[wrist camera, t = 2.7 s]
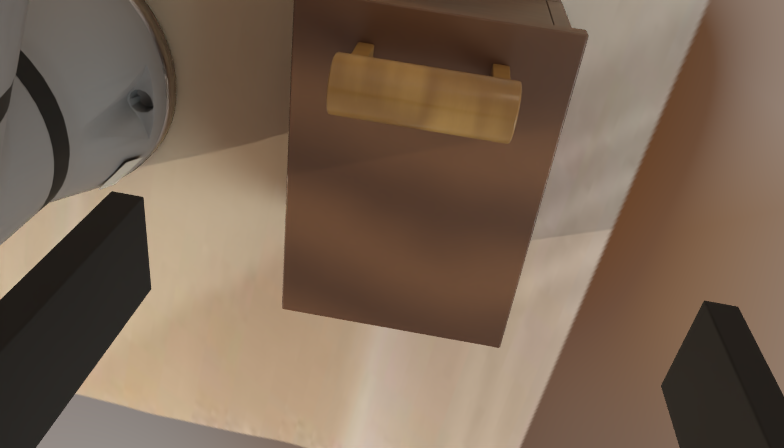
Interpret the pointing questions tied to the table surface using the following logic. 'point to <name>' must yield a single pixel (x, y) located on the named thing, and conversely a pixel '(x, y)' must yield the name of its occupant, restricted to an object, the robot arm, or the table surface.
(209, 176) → the table surface
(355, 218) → the box lid
